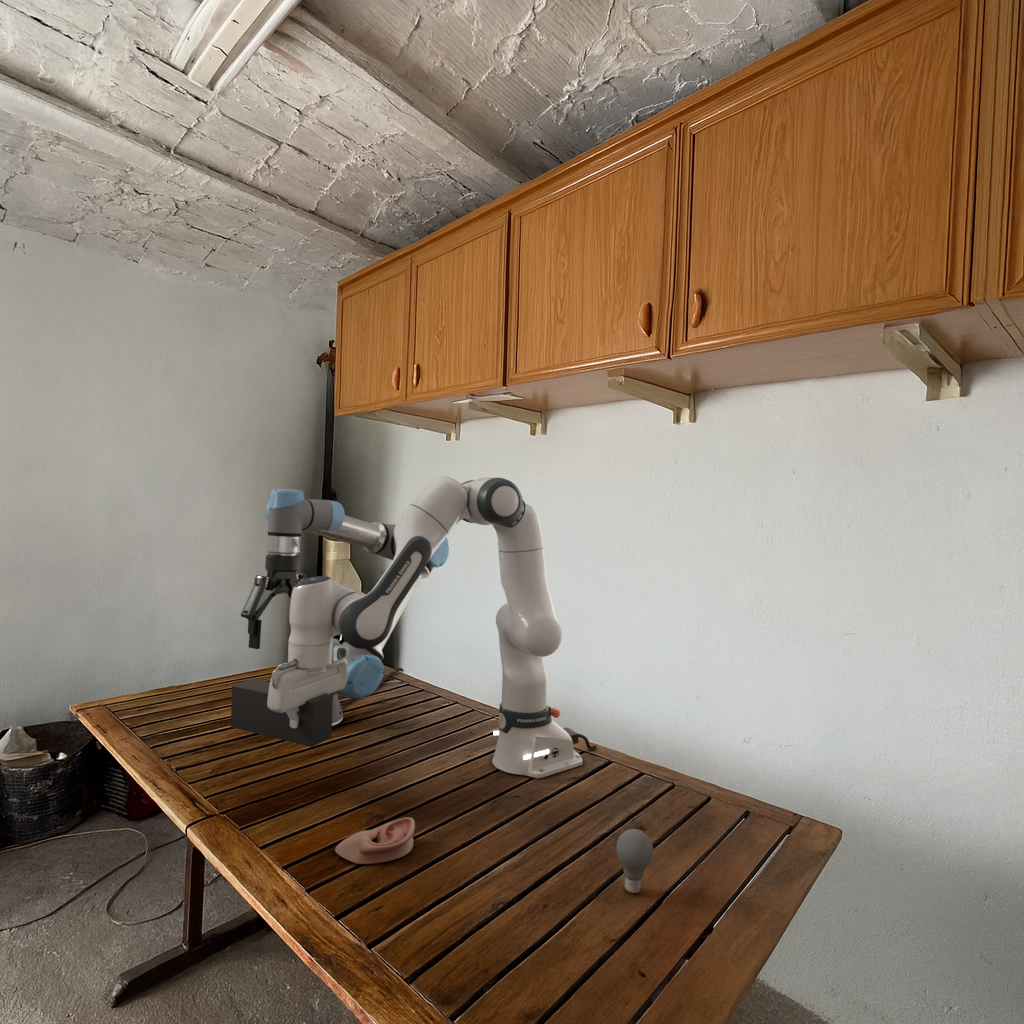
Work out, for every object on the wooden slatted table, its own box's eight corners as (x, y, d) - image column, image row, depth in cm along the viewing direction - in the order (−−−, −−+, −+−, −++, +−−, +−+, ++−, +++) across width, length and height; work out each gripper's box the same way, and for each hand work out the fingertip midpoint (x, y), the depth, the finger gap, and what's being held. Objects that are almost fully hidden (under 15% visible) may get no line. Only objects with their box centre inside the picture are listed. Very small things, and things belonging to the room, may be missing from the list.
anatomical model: (327, 836, 111) (356, 806, 122) (326, 858, 111) (355, 826, 122) (398, 848, 108) (421, 815, 119) (397, 871, 108) (420, 836, 119)
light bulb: (610, 879, 108) (613, 822, 108) (644, 879, 109) (647, 822, 109) (619, 902, 102) (622, 840, 102) (655, 901, 103) (658, 840, 103)
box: (230, 727, 136) (231, 685, 136) (252, 718, 142) (253, 678, 142) (311, 747, 127) (313, 702, 127) (331, 737, 133) (333, 694, 133)
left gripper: (252, 556, 137) (245, 654, 137) (331, 554, 160) (325, 638, 159) (227, 553, 140) (221, 649, 140) (308, 551, 163) (303, 634, 163)
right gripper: (285, 668, 121) (283, 740, 121) (353, 647, 139) (351, 709, 140) (260, 664, 123) (258, 734, 123) (330, 643, 142) (328, 704, 142)
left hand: (277, 643), depth 150 cm, fingers open, 13 cm apart
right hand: (308, 721), depth 132 cm, fingers closed on box, 6 cm apart
